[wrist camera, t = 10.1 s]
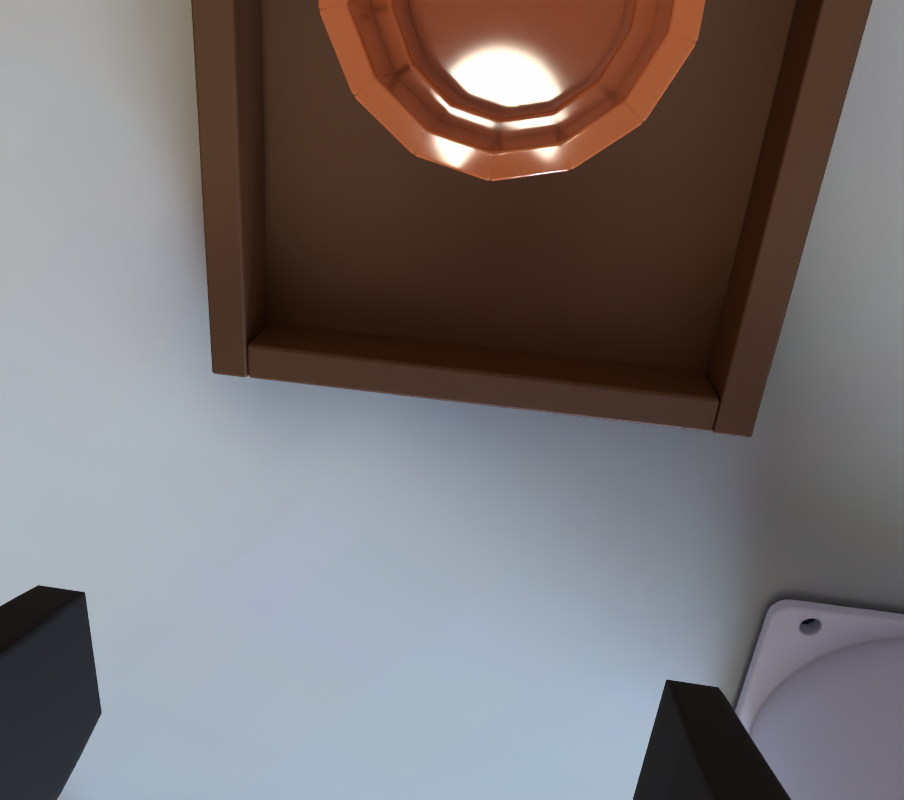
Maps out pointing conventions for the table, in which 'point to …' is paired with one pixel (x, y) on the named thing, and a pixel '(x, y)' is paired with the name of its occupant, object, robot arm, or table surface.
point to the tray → (518, 227)
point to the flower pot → (510, 74)
